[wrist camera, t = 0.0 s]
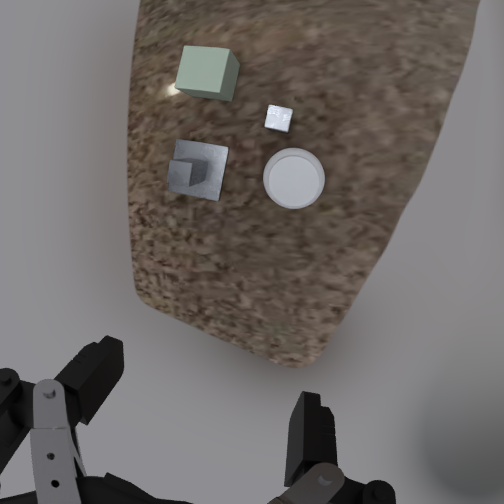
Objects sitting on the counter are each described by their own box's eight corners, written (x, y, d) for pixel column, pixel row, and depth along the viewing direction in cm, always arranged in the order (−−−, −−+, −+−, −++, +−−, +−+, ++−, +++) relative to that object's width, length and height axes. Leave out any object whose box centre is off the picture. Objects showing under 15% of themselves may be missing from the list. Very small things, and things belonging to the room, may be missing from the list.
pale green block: (201, 60, 34) (184, 45, 28) (240, 64, 34) (229, 48, 27) (193, 96, 36) (174, 87, 29) (231, 101, 35) (219, 92, 29)
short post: (271, 109, 35) (269, 104, 31) (292, 113, 35) (292, 109, 31) (267, 129, 36) (264, 126, 32) (288, 133, 36) (287, 131, 32)
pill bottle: (262, 189, 38) (250, 203, 28) (276, 142, 36) (270, 138, 26) (309, 204, 38) (315, 224, 28) (325, 157, 36) (337, 160, 26)
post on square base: (178, 139, 38) (155, 137, 31) (229, 147, 37) (215, 146, 31) (169, 190, 40) (146, 198, 33) (219, 200, 40) (204, 210, 33)
